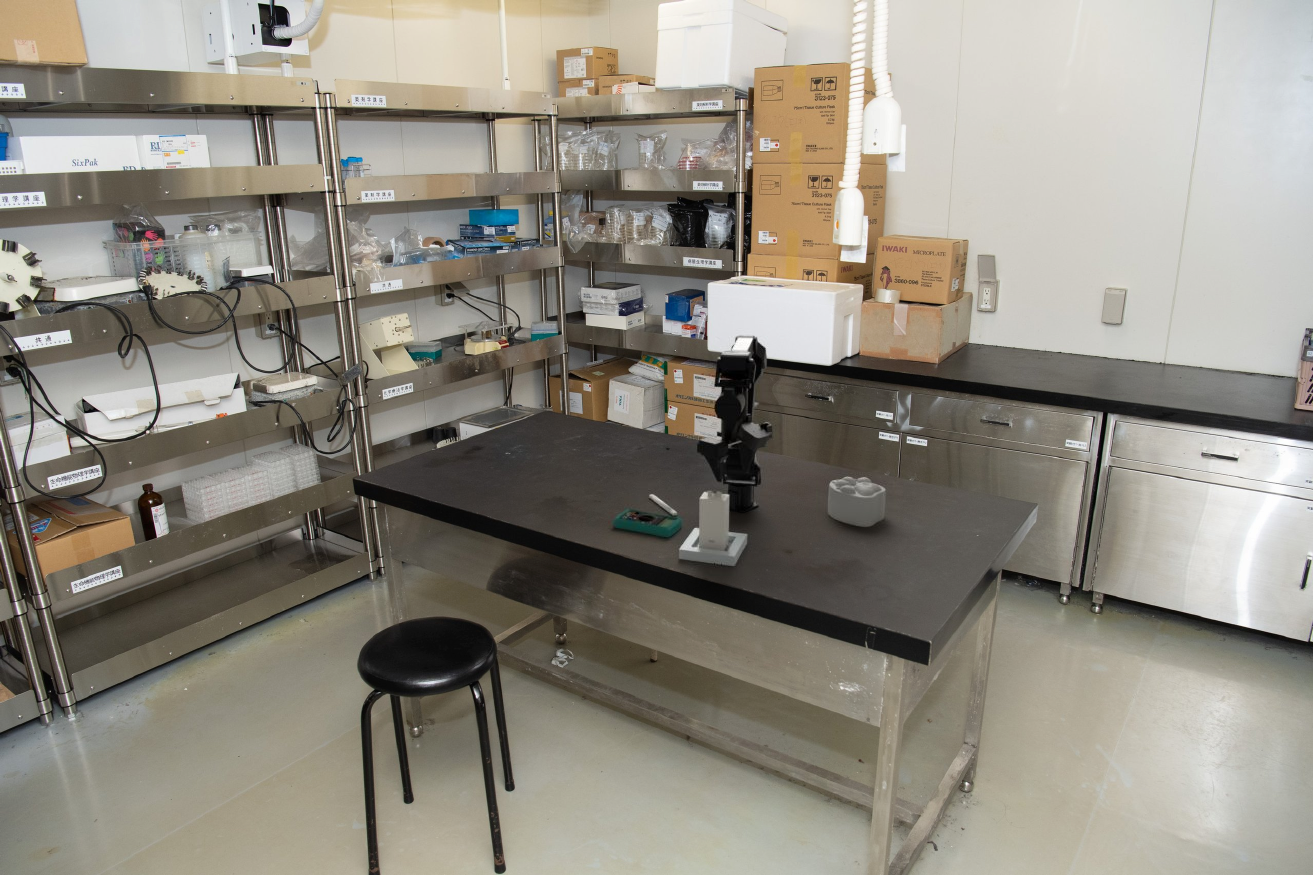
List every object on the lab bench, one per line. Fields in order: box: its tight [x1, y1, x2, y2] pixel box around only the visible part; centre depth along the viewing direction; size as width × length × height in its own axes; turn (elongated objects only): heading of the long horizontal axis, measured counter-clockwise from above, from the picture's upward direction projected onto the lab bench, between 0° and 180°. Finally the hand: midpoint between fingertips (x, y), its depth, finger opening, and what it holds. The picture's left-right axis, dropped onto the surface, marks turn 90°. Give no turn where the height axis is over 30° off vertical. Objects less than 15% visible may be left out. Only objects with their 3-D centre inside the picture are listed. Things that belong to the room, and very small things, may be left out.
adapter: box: [698, 490, 730, 551], centre depth 185 cm, size 4×6×13 cm
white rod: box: [649, 493, 678, 517], centre depth 212 cm, size 13×1×1 cm, turn 26°
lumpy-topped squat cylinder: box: [827, 476, 887, 528], centre depth 205 cm, size 10×13×9 cm
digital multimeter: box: [613, 508, 683, 538], centre depth 200 cm, size 7×15×3 cm, turn 64°
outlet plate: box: [678, 527, 748, 567], centre depth 187 cm, size 12×12×2 cm
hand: (732, 477), depth 194 cm, fingers open, 9 cm apart
